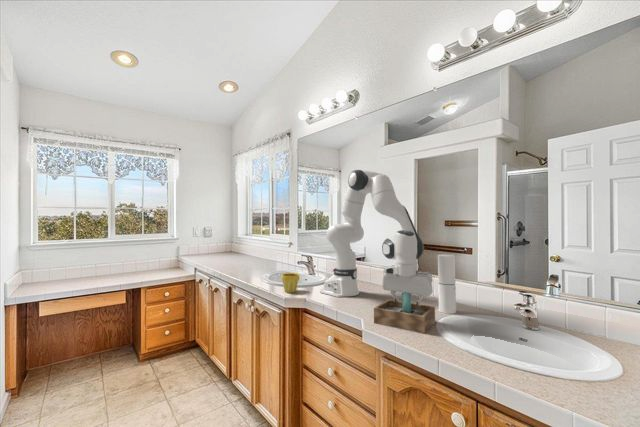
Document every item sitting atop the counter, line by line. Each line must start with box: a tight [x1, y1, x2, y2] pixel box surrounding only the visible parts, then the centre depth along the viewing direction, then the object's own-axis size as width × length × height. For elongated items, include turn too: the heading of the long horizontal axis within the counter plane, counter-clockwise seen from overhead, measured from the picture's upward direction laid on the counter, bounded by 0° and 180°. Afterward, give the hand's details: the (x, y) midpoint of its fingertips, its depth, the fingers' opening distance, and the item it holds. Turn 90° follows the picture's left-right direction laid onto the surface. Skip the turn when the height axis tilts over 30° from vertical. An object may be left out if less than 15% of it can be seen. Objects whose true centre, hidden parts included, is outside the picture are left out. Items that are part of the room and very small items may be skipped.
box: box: [373, 299, 436, 334], centre depth 122 cm, size 20×15×6 cm
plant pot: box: [281, 272, 300, 294], centre depth 176 cm, size 10×10×10 cm
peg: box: [401, 292, 412, 314], centre depth 124 cm, size 4×4×12 cm
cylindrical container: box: [437, 254, 457, 315], centre depth 135 cm, size 7×7×25 cm
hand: (406, 303), depth 125 cm, fingers open, 8 cm apart
